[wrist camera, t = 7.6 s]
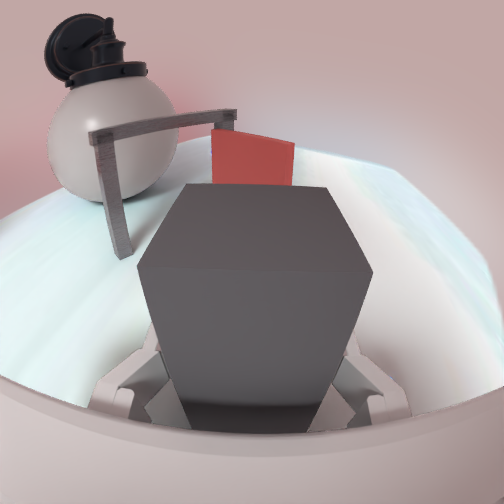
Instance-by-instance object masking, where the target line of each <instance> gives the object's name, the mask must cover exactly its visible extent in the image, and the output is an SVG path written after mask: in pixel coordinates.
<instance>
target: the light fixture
mask: <svg viewBox="0 0 504 504" xmlns="http://www.w3.org/2000/svg"><path fill="white" fill-rule="evenodd" d="M113 22H114V21H113V18H111V17H108V18H106V19H103V18H102V17H100V16H98V15H94V14H78V15H74V16H72V17H70V18H67V19H66V20H64V21H63V22H61V23H60V24H59V25H58V26H57V27H56V28H55V29H54V30H53V32H52V33H51V35H50V36H49V38H48V40H47V43H46V46H45V51H44V59H45V63H46V66H47V68H48V70H49V71H50V73H51V74H52V75H53V76H54V77H55V78H57V79H58V80H60V81H63V82H65V87H66V88H67V87H70V90H71V91H70V92H69V94H68V95H67V96H66V97H65V98H64V100H63V101H62V103H61V104H60V105H59V107H58V109H57V111H56V112H55V114H54V116H53V119H52V121H51V124H50V127H49V131H48V137H47V155H48V159H49V163H50V166H51V168H52V171H53V173H54V175H55V176H56V178H57V179H58V181H59V182H60V183H61V184H62V185H63V187H64V188H66V189H67V190H68V191H69V192H71V193H72V194H74V195H76V196H78V197H80V198H83V199H86V200H90V201H96V202H103V200H102V195H101V189H100V184H99V178H98V172H97V165H96V158H95V151H94V147H93V146H90V145H89V138H88V132H90V131H94V130H98V129H102V128H106V127H110V126H115V125H119V124H124V123H128V122H133V121H138V120H144V119H149V118H155V117H161V116H167V115H174V114H176V112H175V110H174V107H173V105H172V103H171V101H170V99H169V98H168V97H167V95H166V94H165V93H164V92H163V91H162V89H160V88H159V87H158V86H157V85H156V84H155V83H154V82H152V81H151V80H149V79H148V78H147V77H145V76H146V75H147V73H148V70H147V69H146V63H145V62H138V61H132V62H124V60H123V48H124V46H125V44H126V42H123V41H119V40H118V39H116V36H115V34H114V31H113ZM178 129H179V128H174V129H168V130H163V131H157V132H152V133H147V134H143V135H138V136H134V137H129V138H125V139H121V140H117V141H114V147H115V155H116V163H117V171H118V178H119V184H120V191H121V197H122V199H126V198H129V197H131V196H134V195H136V194H138V193H140V192H142V191H144V190H145V189H147V188H148V187H150V186H151V185H152V184H153V183H155V182H156V181H157V180H158V179H159V178H160V177H161V176H162V175H163V173H164V172H165V171H166V169H167V168H168V166H169V164H170V163H171V160H172V158H173V156H174V153H175V150H176V146H177V141H178V132H179V130H178Z"/></svg>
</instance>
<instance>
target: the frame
mask: <svg viewBox="0 0 504 504" xmlns="http://www.w3.org/2000/svg"><path fill="white" fill-rule="evenodd" d="M234 120H237V109H217V110H207V111H198V112H190V113H182V114H174V115H167V116H161V117H155V118H149V119H144V120H138V121H133V122H128V123H124V124H119V125H115V126H110V127H106V128H102V129H98V130H94V131H90V132H88V138H89V145H90V146H93V147H94V151H95V158H96V165H97V172H98V178H99V184H100V189H101V195H102V200H103V205H104V210H105V214H106V219H107V223H108V228H109V232H110V236H111V240H112V244H113V248H114V252H115V254H116V256H117V257H118V258H119V259H120V260H121V259H123V258H126V257H128V256H130V255H132V254H133V252H132V247H131V243H130V238H129V234H128V229H127V224H126V219H125V213H124V208H123V202H122V197H121V191H120V184H119V178H118V171H117V163H116V155H115V147H114V141H117V140H121V139H125V138H129V137H134V136H138V135H143V134H147V133H152V132H157V131H163V130H168V129H174V128H179V127H185V126H192V125H198V124H206V123H213V122H214V129H225V130H231V131H234Z"/></svg>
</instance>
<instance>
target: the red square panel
mask: <svg viewBox="0 0 504 504" xmlns="http://www.w3.org/2000/svg"><path fill="white" fill-rule="evenodd" d="M211 143H212V182H213V184H263V185H288V186H292V173H293V160H294V146H295V144H294V143H292V142H288V141H283V140H279V139H274V138H269V137H264V136H259V135H254V134H249V133H243V132H237V131H231V130H225V129H213V130H211Z"/></svg>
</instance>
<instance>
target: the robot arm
mask: <svg viewBox="0 0 504 504" xmlns="http://www.w3.org/2000/svg"><path fill="white" fill-rule="evenodd" d="M169 378H170V379H172V378H171V376H170V373H169V370H168V368H167V365H166V362H165V359H164V356H163V354H162V351H161V348H160V345H159V342H158V339H157V336H156V332H155V329H154V326H153V323H152V322H151V324H150V327H149V330H148V333H147V336H146V339H145V341H144V344H143V347H142V349H138V350H136V351H135V352H134V353H132V354H131V355H130V356H129V357H127V358H126V359H125V360H124V361H122V362H121V363H120V364H119V365H117V366H116V367H115V368H113V369H112V370H111V371H110V372H108V373H107V374H106V375H105V376H103V377H102V378H101V379H100V380H98V381H97V383H96V386H95V388H94V391H93V394H92V397H91V399H90V402H89V405H88V408H84V407H81V406H78V405H74V404H71V403H68V402H65V401H62V400H59V399H57V398H54V397H51V396H48V395H46V394H43V393H41V392H38V391H36V390H33V389H31V388H28V387H26V386H24V385H21V384H19V383H17V382H15V381H12V380H10V379H8V378H6V377H4V376H2V375H0V504H504V386H503V387H501V388H498V389H496V390H494V391H491V392H489V393H486V394H484V395H481V396H479V397H476V398H473V399H471V400H468V401H465V402H462V403H459V404H456V405H453V406H450V407H447V408H443V409H440V410H436V411H433V412H429V413H426V414H422V415H418V416H414V417H412V414H411V411H410V407H409V404H408V401H407V397H406V394H405V391H404V389H403V388H402V387H400V386H399V385H398V384H397V383H396V382H395V381H394V380H392V379H391V378H390V377H389V376H388V375H387V374H386V373H385V372H383V371H382V370H381V369H380V368H379V367H378V366H377V365H376V364H374V363H373V362H372V361H371V360H370V359H369V358H368V357H367V356H365V355H361V352H360V349H359V346H358V342H357V339H356V336H355V332H354V329H353V332H352V334H351V337H350V339H349V342H348V344H347V347H346V349H345V351H344V354H343V356H342V359H341V361H340V363H339V366H338V368H337V370H336V372H335V375H334V377H333V379H332V381H331V383H332V385H333V386H334V387H335V388H336V389H337V391H338V392H339V393H340V394H341V396H342V397H343V398H344V399H345V400H346V402H347V403H348V404H349V405H350V406H351V408H352V409H353V410H354V411H355V412H356V414H355V416H354V417H353V418H352V420H351V421H350V422H349V423H348V425H347V429H340V430H331V431H320V432H306V433H284V434H249V433H226V432H212V431H201V430H192V429H184V428H176V427H169V426H163V425H157V424H151V422H152V420H151V418H150V417H149V415H148V414H147V412H146V411H145V409H144V406H145V405H146V404H147V403H148V402H149V401H150V400H151V399H152V398H153V397H154V396H155V395H156V394H157V393H158V391H159V390H160V389H161V388H162V387H163V386H164V385H165V384H166V383H167V382H168V381H169Z"/></svg>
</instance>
